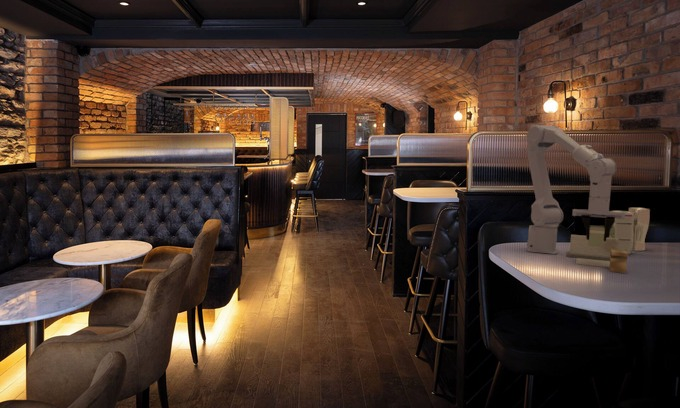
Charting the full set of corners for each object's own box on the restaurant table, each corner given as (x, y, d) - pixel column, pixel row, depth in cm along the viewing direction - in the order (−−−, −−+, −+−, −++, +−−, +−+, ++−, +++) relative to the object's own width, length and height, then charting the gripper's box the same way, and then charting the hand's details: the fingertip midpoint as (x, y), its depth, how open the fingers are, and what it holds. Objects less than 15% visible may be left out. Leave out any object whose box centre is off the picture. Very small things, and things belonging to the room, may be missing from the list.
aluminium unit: (566, 256, 169) (567, 236, 168) (566, 253, 173) (567, 233, 172) (620, 262, 162) (622, 240, 161) (619, 259, 167) (621, 238, 166)
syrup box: (631, 254, 174) (634, 213, 172) (612, 253, 175) (616, 212, 174) (625, 251, 180) (628, 210, 178) (607, 250, 181) (610, 210, 179)
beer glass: (634, 246, 188) (638, 207, 186) (651, 250, 181) (655, 209, 179) (619, 247, 186) (623, 207, 184) (636, 251, 179) (640, 210, 177)
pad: (576, 264, 158) (576, 262, 158) (576, 259, 165) (576, 258, 165) (612, 267, 154) (612, 266, 154) (610, 263, 161) (610, 261, 161)
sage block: (588, 245, 158) (590, 226, 157) (588, 243, 161) (589, 225, 161) (603, 247, 156) (604, 228, 155) (602, 244, 160) (604, 226, 159)
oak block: (610, 271, 150) (611, 251, 149) (609, 268, 153) (610, 249, 153) (625, 273, 148) (627, 253, 147) (624, 270, 152) (626, 250, 151)
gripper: (574, 196, 156) (570, 239, 158) (627, 199, 150) (623, 244, 152) (573, 194, 163) (570, 236, 164) (625, 197, 157) (621, 240, 158)
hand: (595, 240), depth 158 cm, fingers closed on sage block, 4 cm apart
